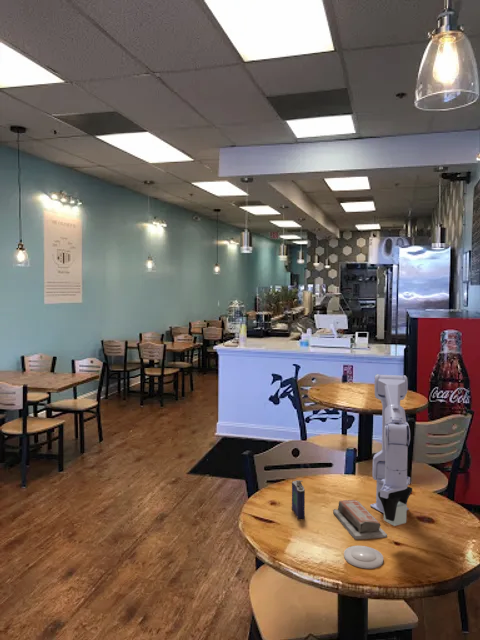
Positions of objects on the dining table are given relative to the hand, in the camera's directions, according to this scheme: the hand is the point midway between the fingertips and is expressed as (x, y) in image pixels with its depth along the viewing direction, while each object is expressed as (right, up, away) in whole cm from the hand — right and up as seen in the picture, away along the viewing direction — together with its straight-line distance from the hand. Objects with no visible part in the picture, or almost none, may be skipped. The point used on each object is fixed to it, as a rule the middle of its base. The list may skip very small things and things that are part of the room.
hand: (394, 516), depth 134 cm
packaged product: (-7, -9, +13) cm, 17 cm away
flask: (-24, -8, +20) cm, 33 cm away
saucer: (-10, -9, -6) cm, 15 cm away
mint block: (0, -1, 0) cm, 1 cm away
